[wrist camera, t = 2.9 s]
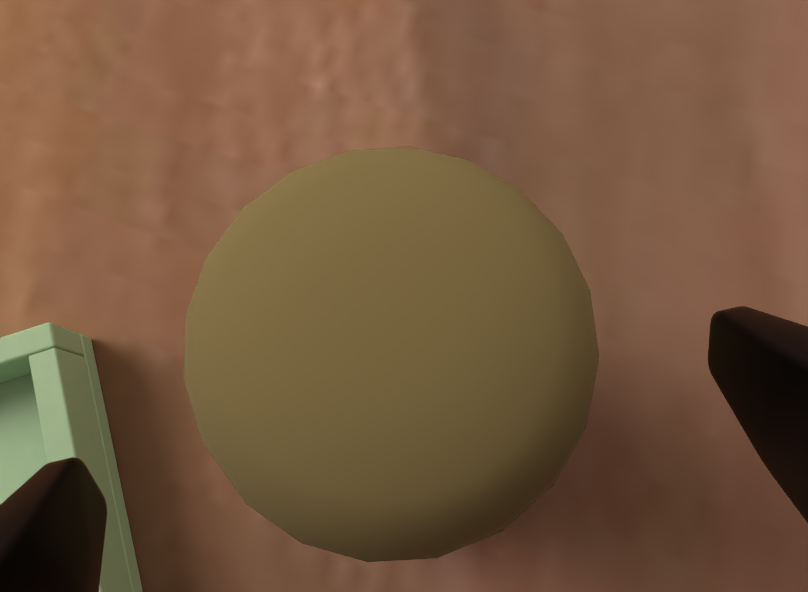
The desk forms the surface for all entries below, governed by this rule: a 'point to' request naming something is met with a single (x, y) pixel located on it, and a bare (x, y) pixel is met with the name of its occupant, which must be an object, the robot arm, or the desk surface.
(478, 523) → the olive brown pawn
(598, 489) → the desk surface
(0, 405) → the tray
